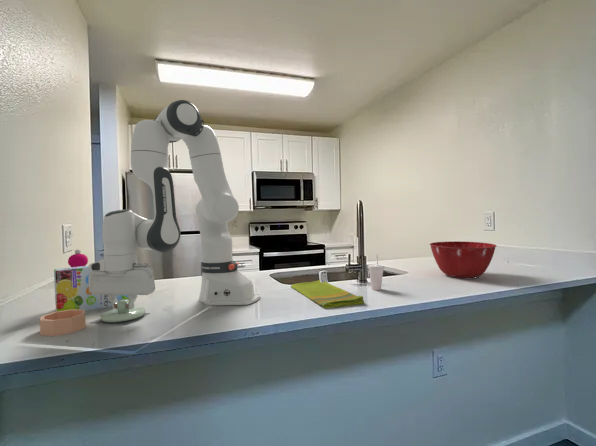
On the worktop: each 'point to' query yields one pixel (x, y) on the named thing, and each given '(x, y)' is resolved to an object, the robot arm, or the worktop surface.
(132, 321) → the mat
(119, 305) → the lid
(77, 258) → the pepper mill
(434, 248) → the mixing bowl
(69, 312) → the bowl
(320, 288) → the dish towel
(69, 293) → the snack box
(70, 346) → the worktop surface
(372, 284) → the smoothie
